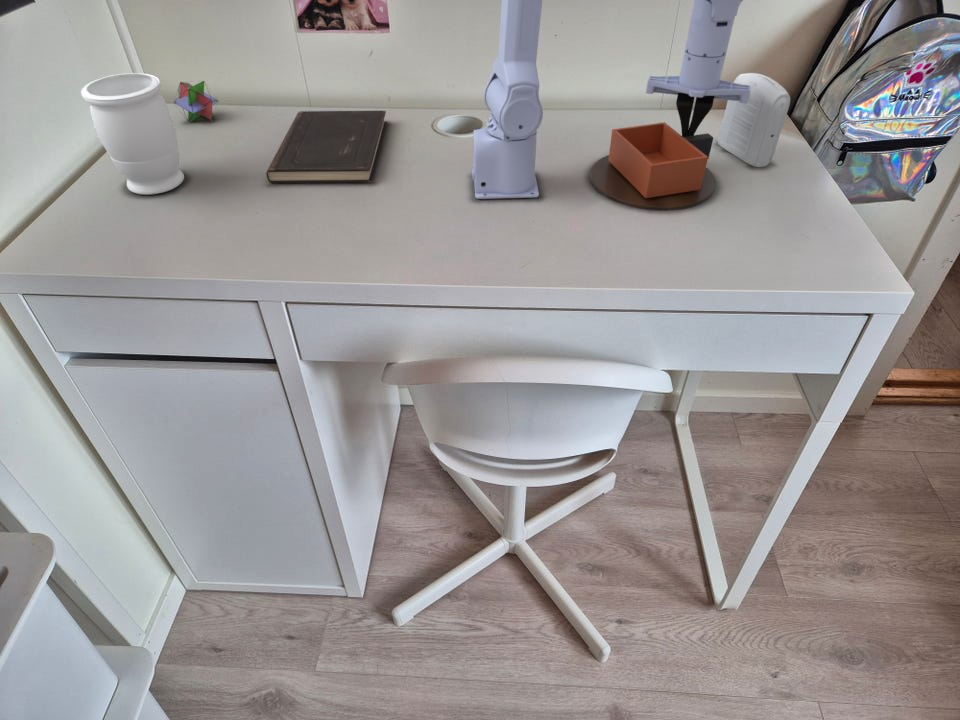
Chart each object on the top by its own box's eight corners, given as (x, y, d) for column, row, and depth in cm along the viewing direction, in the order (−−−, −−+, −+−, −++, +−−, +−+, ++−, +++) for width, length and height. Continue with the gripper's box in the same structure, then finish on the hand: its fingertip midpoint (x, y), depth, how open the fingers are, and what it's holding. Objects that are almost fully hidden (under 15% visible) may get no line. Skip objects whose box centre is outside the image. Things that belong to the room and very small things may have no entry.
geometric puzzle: (233, 104, 120) (202, 64, 117) (208, 118, 115) (175, 77, 112) (214, 123, 124) (184, 85, 121) (190, 137, 120) (157, 98, 117)
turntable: (601, 212, 94) (601, 208, 94) (581, 154, 108) (581, 150, 108) (732, 209, 94) (733, 205, 94) (695, 151, 108) (696, 148, 108)
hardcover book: (387, 123, 118) (385, 110, 117) (371, 183, 101) (369, 169, 100) (298, 123, 118) (296, 111, 117) (268, 183, 101) (264, 169, 100)
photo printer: (775, 165, 105) (800, 86, 96) (753, 170, 103) (777, 90, 95) (733, 140, 112) (753, 64, 103) (712, 144, 110) (731, 68, 102)
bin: (607, 160, 104) (611, 128, 101) (682, 149, 107) (688, 118, 104) (645, 198, 95) (651, 165, 92) (726, 185, 98) (734, 153, 94)
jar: (204, 182, 102) (173, 83, 92) (140, 206, 96) (99, 104, 86) (170, 161, 107) (137, 66, 97) (108, 183, 102) (67, 85, 92)
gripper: (650, 55, 91) (635, 148, 101) (759, 65, 88) (733, 160, 97) (655, 40, 96) (641, 130, 106) (759, 48, 93) (734, 140, 102)
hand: (685, 143), depth 102 cm, fingers closed
